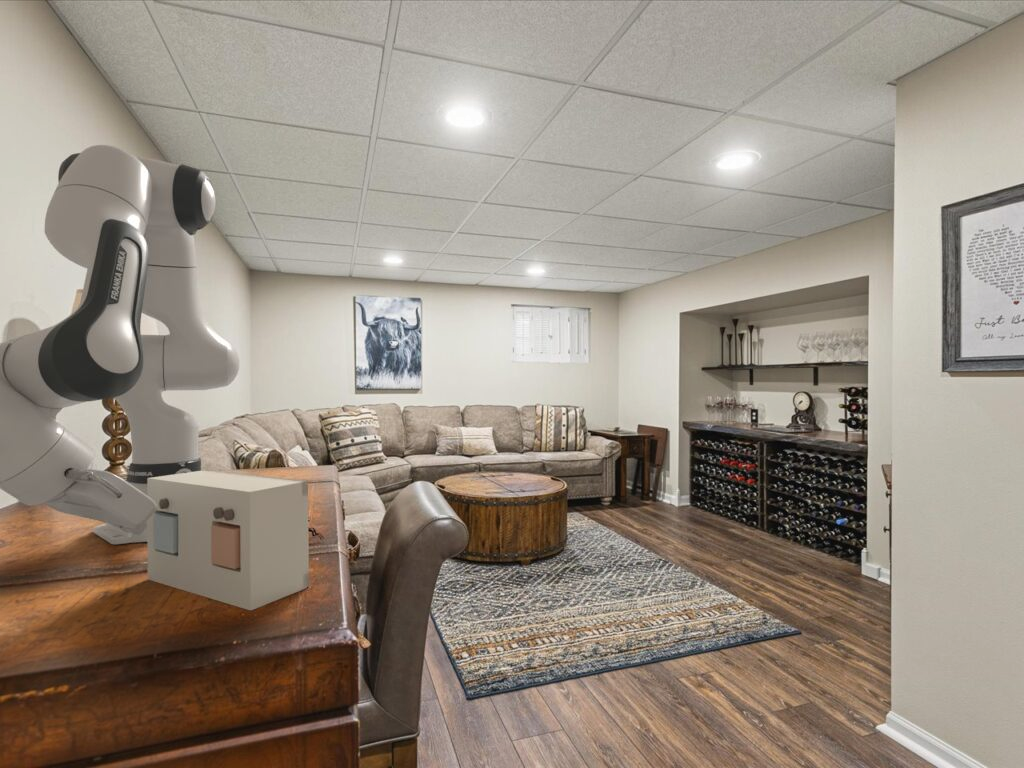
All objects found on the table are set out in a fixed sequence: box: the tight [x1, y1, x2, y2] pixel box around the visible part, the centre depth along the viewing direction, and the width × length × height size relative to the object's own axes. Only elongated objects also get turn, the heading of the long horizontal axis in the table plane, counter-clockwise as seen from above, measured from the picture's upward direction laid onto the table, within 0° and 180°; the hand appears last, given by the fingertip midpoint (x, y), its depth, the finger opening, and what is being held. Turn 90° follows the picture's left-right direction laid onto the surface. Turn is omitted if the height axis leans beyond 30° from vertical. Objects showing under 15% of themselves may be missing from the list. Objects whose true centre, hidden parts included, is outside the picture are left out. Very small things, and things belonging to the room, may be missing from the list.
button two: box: [211, 523, 241, 569], centre depth 73 cm, size 5×8×5 cm, turn 151°
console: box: [147, 469, 310, 611], centre depth 77 cm, size 24×10×15 cm, turn 61°
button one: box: [153, 512, 223, 553], centre depth 80 cm, size 5×8×5 cm, turn 151°
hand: (138, 529), depth 73 cm, fingers closed
